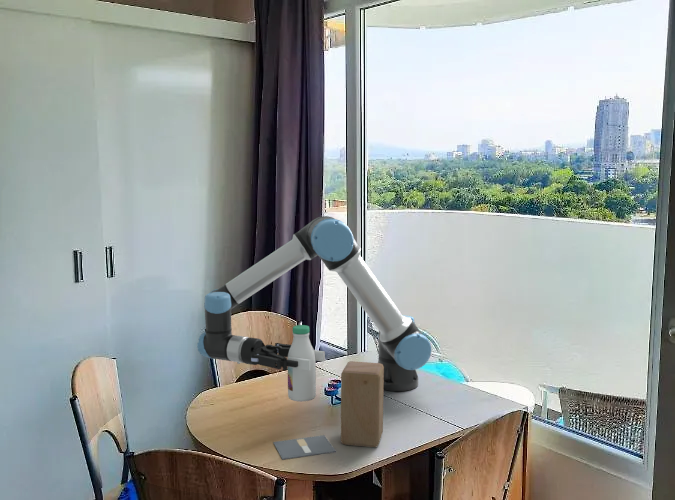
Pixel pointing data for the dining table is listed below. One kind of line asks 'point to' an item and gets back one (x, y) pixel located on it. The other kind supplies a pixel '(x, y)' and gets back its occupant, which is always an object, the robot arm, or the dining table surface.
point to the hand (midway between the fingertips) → (317, 360)
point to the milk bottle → (299, 379)
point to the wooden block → (362, 403)
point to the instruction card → (304, 447)
